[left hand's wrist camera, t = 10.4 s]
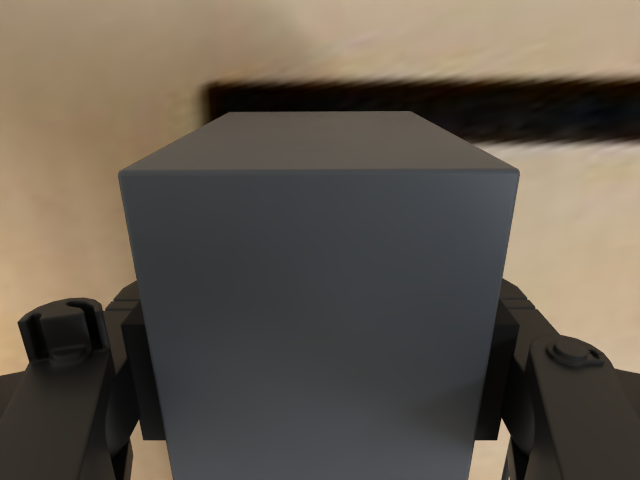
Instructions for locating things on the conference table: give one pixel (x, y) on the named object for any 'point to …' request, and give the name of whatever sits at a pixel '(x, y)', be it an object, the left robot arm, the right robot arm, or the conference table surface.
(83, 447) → the left robot arm
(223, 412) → the post
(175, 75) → the conference table surface
